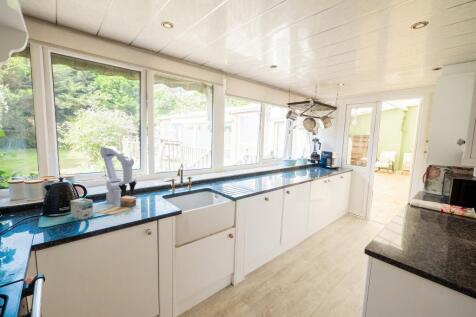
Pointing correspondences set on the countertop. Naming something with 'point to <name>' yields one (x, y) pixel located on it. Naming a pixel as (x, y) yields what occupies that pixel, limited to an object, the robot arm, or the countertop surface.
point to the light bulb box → (81, 208)
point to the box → (128, 203)
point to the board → (114, 210)
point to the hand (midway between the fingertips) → (128, 193)
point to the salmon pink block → (127, 198)
